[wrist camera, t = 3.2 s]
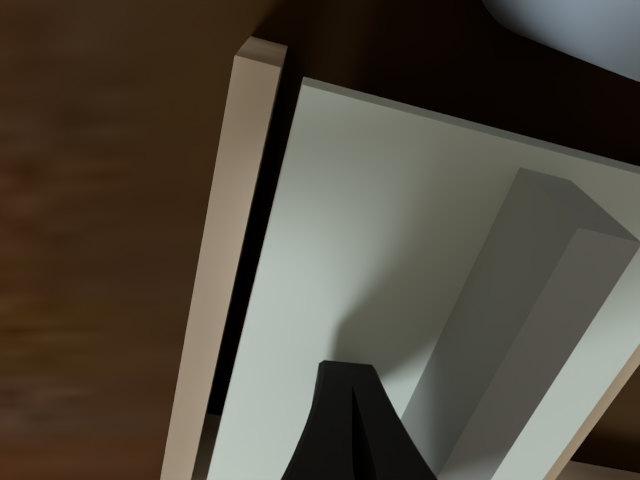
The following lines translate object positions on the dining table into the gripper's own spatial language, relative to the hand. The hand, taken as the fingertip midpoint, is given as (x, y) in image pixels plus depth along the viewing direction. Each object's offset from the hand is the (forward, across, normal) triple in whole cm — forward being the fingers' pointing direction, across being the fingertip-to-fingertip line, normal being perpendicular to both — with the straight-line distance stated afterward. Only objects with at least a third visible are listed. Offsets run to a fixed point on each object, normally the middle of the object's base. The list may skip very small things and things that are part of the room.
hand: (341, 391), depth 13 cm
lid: (+2, -2, 0) cm, 3 cm away
